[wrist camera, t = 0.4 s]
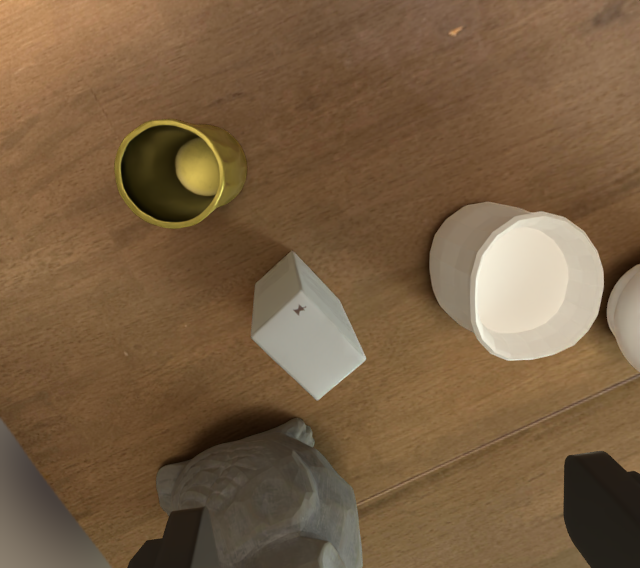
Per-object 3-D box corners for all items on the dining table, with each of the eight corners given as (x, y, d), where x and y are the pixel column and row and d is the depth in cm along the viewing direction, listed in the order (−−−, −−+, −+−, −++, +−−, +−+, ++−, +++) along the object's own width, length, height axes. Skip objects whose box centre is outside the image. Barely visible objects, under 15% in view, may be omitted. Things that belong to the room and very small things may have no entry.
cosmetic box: (252, 284, 41) (246, 335, 29) (292, 248, 40) (301, 286, 29) (304, 335, 42) (317, 404, 31) (342, 301, 42) (370, 358, 30)
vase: (160, 124, 37) (96, 108, 23) (245, 124, 38) (230, 107, 24) (167, 208, 39) (111, 239, 25) (249, 207, 39) (237, 236, 25)
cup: (463, 340, 44) (516, 391, 34) (396, 251, 41) (433, 279, 32) (554, 271, 43) (634, 304, 34) (491, 176, 40) (559, 183, 31)
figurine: (351, 527, 47) (407, 784, 28) (176, 556, 46) (109, 843, 27) (336, 390, 44) (387, 577, 24) (146, 418, 43) (44, 635, 23)
